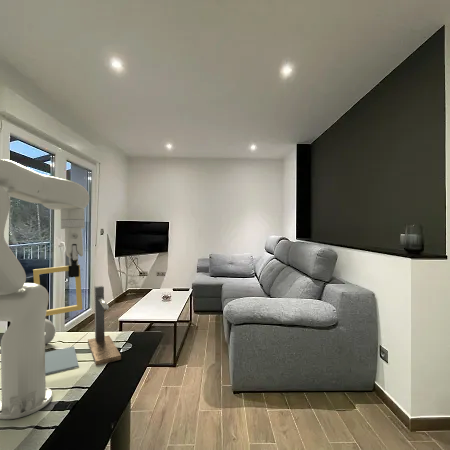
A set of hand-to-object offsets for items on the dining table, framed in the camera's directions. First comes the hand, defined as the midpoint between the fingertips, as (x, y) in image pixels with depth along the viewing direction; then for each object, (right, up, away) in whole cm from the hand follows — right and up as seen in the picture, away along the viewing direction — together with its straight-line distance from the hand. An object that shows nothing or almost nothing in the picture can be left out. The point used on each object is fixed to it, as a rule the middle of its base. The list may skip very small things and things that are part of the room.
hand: (73, 276), depth 105 cm
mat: (-4, -29, -3) cm, 29 cm away
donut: (-18, -29, +12) cm, 36 cm away
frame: (-4, -12, -2) cm, 13 cm away
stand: (+9, -29, +5) cm, 30 cm away
